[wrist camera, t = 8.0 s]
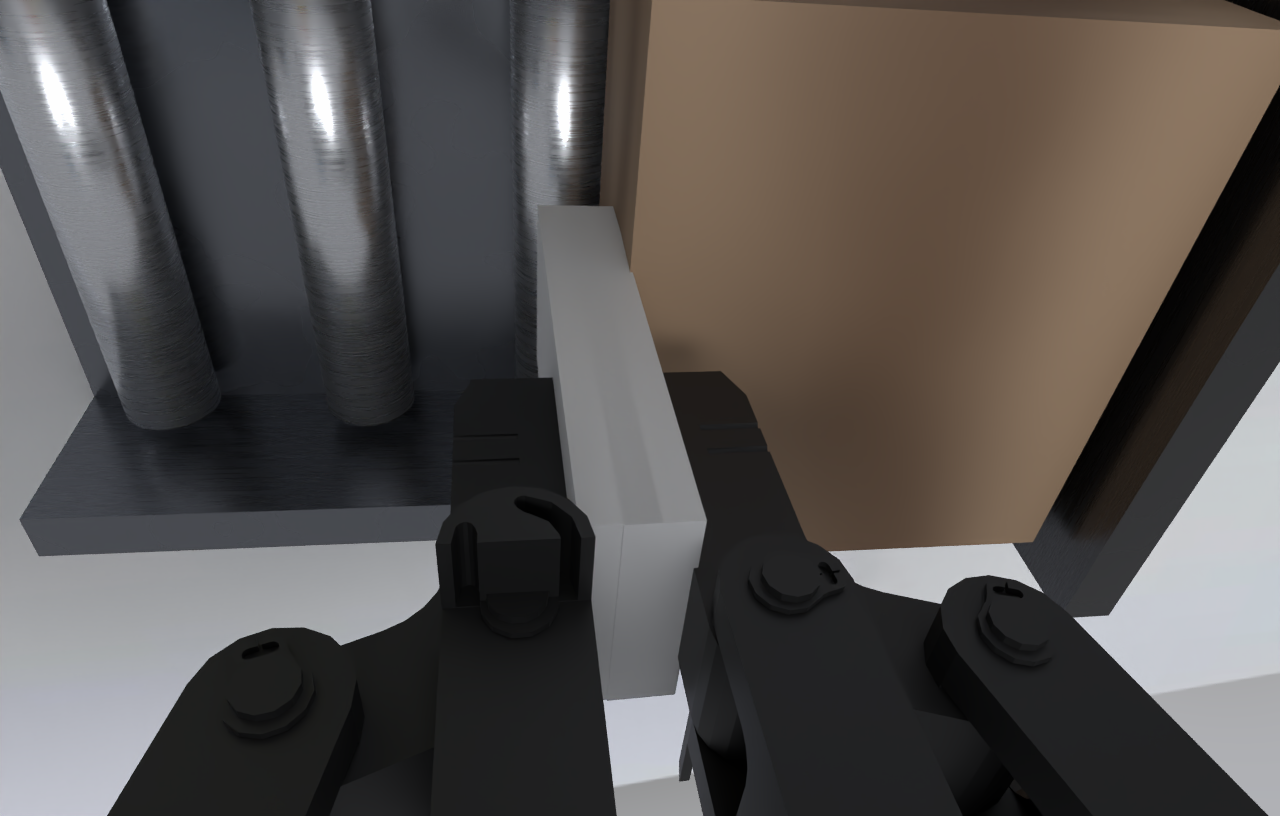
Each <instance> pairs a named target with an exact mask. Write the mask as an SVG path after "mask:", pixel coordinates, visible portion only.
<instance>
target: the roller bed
mask: <svg viewBox="0 0 1280 816" xmlns="http://www.w3.org/2000/svg"><path fill="white" fill-rule="evenodd" d="M1225 1H1228V2H1231V3H1233V4H1236V5H1239V6H1241V7H1244V8H1247V9H1249V10H1252V11H1255V12H1257V13H1260V14H1263V15H1265V16H1268V17H1271V18H1273V19H1276V20H1279V21H1280V0H1225ZM609 11H610V0H0V167H1V169H2V172H3V174H4V177H5V179H6V182H7V184H8V187H9V189H10V191H11V194H12V196H13V199H14V201H15V204H16V206H17V208H18V211H19V213H20V216H21V218H22V221H23V223H24V226H25V228H26V230H27V233H28V235H29V238H30V240H31V243H32V245H33V248H34V250H35V252H36V255H37V257H38V260H39V262H40V265H41V267H42V269H43V272H44V274H45V277H46V279H47V282H48V284H49V287H50V289H51V291H52V294H53V296H54V299H55V301H56V304H57V306H58V309H59V311H60V313H61V316H62V318H63V321H64V323H65V326H66V328H67V330H68V333H69V335H70V338H71V340H72V343H73V345H74V348H75V350H76V352H77V355H78V357H79V360H80V362H81V365H82V367H83V370H84V372H85V374H86V377H87V379H88V382H89V384H90V387H91V389H92V391H93V394H94V396H95V397H94V398H93V400H92V402H91V403H90V405H89V407H88V408H87V410H86V411H85V413H84V415H83V416H82V418H81V420H80V421H79V423H78V425H77V426H76V428H75V429H74V431H73V433H72V434H71V436H70V438H69V439H68V441H67V443H66V444H65V446H64V447H63V449H62V451H61V452H60V454H59V456H58V457H57V459H56V461H55V462H54V464H53V465H52V467H51V469H50V470H49V472H48V474H47V475H46V477H45V478H44V480H43V482H42V483H41V485H40V487H39V488H38V490H37V492H36V493H35V495H34V496H33V498H32V500H31V501H30V503H29V505H28V506H27V508H26V510H25V511H24V513H23V514H22V516H21V518H20V519H19V520H20V522H21V524H22V526H23V527H24V529H25V531H26V533H27V535H28V537H29V538H30V540H31V542H32V544H33V546H34V548H35V550H36V551H37V553H38V555H39V556H55V555H80V554H105V553H130V552H155V551H180V550H205V549H230V548H255V547H280V546H305V545H330V544H354V543H379V542H404V541H429V540H437V538H438V535H439V532H440V529H441V526H442V523H443V521H444V520H445V519H446V518H447V517H448V516H449V515H450V511H451V482H452V452H453V423H454V405H455V404H456V402H457V401H458V399H459V398H460V396H461V395H462V393H463V392H464V390H465V389H466V388H467V386H468V385H469V383H470V382H471V380H472V379H507V378H539V376H538V366H537V205H562V206H599V203H600V183H601V164H602V145H603V126H604V107H605V88H606V69H607V50H608V31H609ZM1279 362H1280V85H1279V87H1278V89H1277V91H1276V93H1275V95H1274V96H1273V98H1272V100H1271V102H1270V104H1269V106H1268V108H1267V109H1266V111H1265V113H1264V115H1263V117H1262V119H1261V121H1260V122H1259V124H1258V126H1257V128H1256V130H1255V132H1254V133H1253V135H1252V137H1251V139H1250V141H1249V143H1248V145H1247V146H1246V148H1245V150H1244V152H1243V154H1242V156H1241V158H1240V159H1239V161H1238V163H1237V165H1236V167H1235V169H1234V171H1233V172H1232V174H1231V176H1230V178H1229V180H1228V182H1227V183H1226V185H1225V187H1224V189H1223V191H1222V193H1221V195H1220V196H1219V198H1218V200H1217V202H1216V204H1215V206H1214V208H1213V209H1212V211H1211V213H1210V215H1209V217H1208V219H1207V221H1206V222H1205V224H1204V226H1203V228H1202V230H1201V232H1200V233H1199V235H1198V237H1197V239H1196V241H1195V243H1194V245H1193V246H1192V248H1191V250H1190V252H1189V254H1188V256H1187V258H1186V259H1185V261H1184V263H1183V265H1182V267H1181V269H1180V271H1179V272H1178V274H1177V276H1176V278H1175V280H1174V282H1173V283H1172V285H1171V287H1170V289H1169V291H1168V293H1167V295H1166V296H1165V298H1164V300H1163V302H1162V304H1161V306H1160V308H1159V309H1158V311H1157V313H1156V315H1155V317H1154V319H1153V321H1152V322H1151V324H1150V326H1149V328H1148V330H1147V332H1146V333H1145V335H1144V337H1143V339H1142V341H1141V343H1140V345H1139V346H1138V348H1137V350H1136V352H1135V354H1134V356H1133V358H1132V359H1131V361H1130V363H1129V365H1128V367H1127V369H1126V371H1125V372H1124V374H1123V376H1122V378H1121V380H1120V382H1119V383H1118V385H1117V387H1116V389H1115V391H1114V393H1113V395H1112V396H1111V398H1110V400H1109V402H1108V404H1107V406H1106V408H1105V409H1104V411H1103V413H1102V415H1101V417H1100V419H1099V421H1098V422H1097V424H1096V426H1095V428H1094V430H1093V432H1092V433H1091V435H1090V437H1089V439H1088V441H1087V443H1086V445H1085V446H1084V448H1083V450H1082V452H1081V454H1080V456H1079V458H1078V459H1077V461H1076V463H1075V465H1074V467H1073V469H1072V471H1071V472H1070V474H1069V476H1068V478H1067V480H1066V482H1065V483H1064V485H1063V487H1062V489H1061V491H1060V493H1059V495H1058V496H1057V498H1056V500H1055V502H1054V504H1053V506H1052V508H1051V509H1050V511H1049V513H1048V515H1047V517H1046V519H1045V521H1044V522H1043V524H1042V526H1041V528H1040V530H1039V532H1038V533H1037V535H1036V537H1035V539H1034V541H1033V542H1025V543H1013V545H1014V546H1015V548H1016V549H1017V551H1018V553H1019V554H1020V556H1021V557H1022V559H1023V561H1024V562H1025V564H1026V565H1027V567H1028V568H1029V570H1030V572H1031V573H1032V575H1033V576H1034V578H1035V580H1036V581H1037V583H1038V584H1039V586H1040V588H1041V589H1042V591H1043V592H1044V594H1045V595H1046V596H1048V597H1049V598H1050V599H1051V600H1053V601H1054V602H1055V603H1057V604H1058V605H1059V606H1060V607H1062V608H1063V609H1064V610H1065V611H1067V612H1068V613H1069V614H1070V615H1071V616H1072V617H1088V616H1105V615H1109V614H1110V612H1111V611H1112V609H1113V608H1114V606H1115V605H1116V603H1117V602H1118V601H1119V599H1120V598H1121V596H1122V595H1123V593H1124V592H1125V590H1126V589H1127V587H1128V586H1129V584H1130V583H1131V581H1132V580H1133V578H1134V577H1135V575H1136V574H1137V572H1138V571H1139V569H1140V568H1141V566H1142V565H1143V563H1144V562H1145V561H1146V559H1147V558H1148V556H1149V555H1150V553H1151V552H1152V550H1153V549H1154V547H1155V546H1156V544H1157V543H1158V541H1159V540H1160V538H1161V537H1162V535H1163V534H1164V532H1165V531H1166V529H1167V528H1168V526H1169V525H1170V523H1171V522H1172V521H1173V519H1174V518H1175V516H1176V515H1177V513H1178V512H1179V510H1180V509H1181V507H1182V506H1183V504H1184V503H1185V501H1186V500H1187V498H1188V497H1189V495H1190V494H1191V492H1192V491H1193V489H1194V488H1195V486H1196V485H1197V484H1198V482H1199V481H1200V479H1201V478H1202V476H1203V475H1204V473H1205V472H1206V470H1207V469H1208V467H1209V466H1210V464H1211V463H1212V461H1213V460H1214V458H1215V457H1216V455H1217V454H1218V452H1219V451H1220V449H1221V448H1222V446H1223V445H1224V444H1225V442H1226V441H1227V439H1228V438H1229V436H1230V435H1231V433H1232V432H1233V430H1234V429H1235V427H1236V426H1237V424H1238V423H1239V421H1240V420H1241V418H1242V417H1243V415H1244V414H1245V412H1246V411H1247V409H1248V408H1249V406H1250V405H1251V404H1252V402H1253V401H1254V399H1255V398H1256V396H1257V395H1258V393H1259V392H1260V390H1261V389H1262V387H1263V386H1264V384H1265V383H1266V381H1267V380H1268V378H1269V377H1270V375H1271V374H1272V372H1273V371H1274V369H1275V368H1276V366H1277V365H1278V364H1279Z"/></svg>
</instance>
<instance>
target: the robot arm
mask: <svg viewBox="0 0 1280 816" xmlns="http://www.w3.org/2000/svg"><path fill="white" fill-rule="evenodd" d="M537 366H538V376H539V378H507V379H472V380H471V382H470V383H469V385H468V386H467V388H466V389H465V390H464V392H463V393H462V395H461V396H460V398H459V399H458V401H457V402H456V404H455V405H454V423H453V452H452V482H451V511H450V515H449V516H448V517H447V518H446V519H445V520H444V521H443V523H442V526H441V529H440V532H439V535H438V538H437V541H436V544H435V545H436V555H437V565H438V575H439V585H440V588H439V590H438V592H437V593H436V594H435V595H434V596H433V597H432V599H431V600H430V601H429V602H428V603H427V604H426V605H425V606H424V607H423V608H422V609H421V610H419V611H418V612H417V613H415V614H414V615H412V616H411V617H410V618H408V619H407V620H405V621H404V622H401V623H399V624H397V625H395V626H393V627H390V628H388V629H386V630H384V631H381V632H378V633H376V634H373V635H370V636H367V637H364V638H361V639H359V640H356V641H353V642H350V643H347V644H344V645H341V646H340V645H339V644H338V643H337V642H336V641H335V640H334V639H333V638H332V637H331V636H328V635H325V634H322V633H319V632H316V631H313V630H310V629H307V628H272V629H268V630H265V631H262V632H259V633H256V634H253V635H250V636H247V637H244V638H240V639H238V640H237V641H235V642H234V643H232V644H231V645H229V646H228V647H226V648H224V649H223V650H221V651H220V652H218V653H217V654H215V655H214V656H212V657H211V658H209V659H208V661H207V662H206V663H205V664H204V665H203V666H202V668H201V669H200V670H199V671H198V672H197V673H196V675H195V676H194V677H193V678H192V679H191V680H190V682H189V683H188V684H187V685H186V687H185V689H184V690H183V692H182V694H181V695H180V697H179V698H178V700H177V702H176V703H175V705H174V707H173V708H172V710H171V712H170V713H169V715H168V717H167V718H166V720H165V721H164V723H163V725H162V726H161V728H160V730H159V731H158V733H157V735H156V736H155V738H154V740H153V741H152V743H151V745H150V746H149V748H148V749H147V751H146V753H145V754H144V756H143V758H142V759H141V761H140V763H139V764H138V766H137V768H136V769H135V771H134V772H133V774H132V776H131V777H130V779H129V781H128V782H127V784H126V786H125V787H124V789H123V791H122V792H121V794H120V795H119V797H118V799H117V800H116V802H115V804H114V805H113V807H112V809H111V810H110V812H109V814H108V815H107V816H617V815H616V807H615V798H614V789H613V781H612V772H611V764H610V755H609V747H608V738H607V729H606V721H605V712H604V704H603V700H607V701H608V700H619V699H630V698H640V697H651V696H662V695H673V694H675V691H676V686H677V680H678V675H679V669H680V670H681V675H682V679H683V684H684V688H685V693H686V697H687V702H688V706H689V716H688V721H687V726H686V731H685V735H684V740H683V745H682V750H681V755H680V759H679V781H687V780H689V779H690V775H691V770H692V767H693V771H694V776H695V780H696V785H697V789H698V794H699V798H700V803H701V807H702V812H703V816H1268V815H1267V814H1266V813H1265V812H1264V811H1263V810H1262V809H1261V808H1260V807H1259V806H1258V805H1257V804H1256V803H1255V802H1254V801H1253V800H1252V799H1251V798H1250V797H1249V796H1248V795H1247V794H1246V793H1245V792H1244V791H1243V790H1242V789H1241V788H1240V787H1239V785H1237V783H1235V781H1233V779H1232V778H1230V776H1229V775H1228V774H1227V773H1226V772H1225V771H1224V770H1222V768H1221V767H1220V766H1219V765H1218V764H1217V763H1216V762H1215V761H1214V760H1213V759H1212V758H1211V757H1210V756H1209V755H1208V754H1207V753H1206V752H1205V751H1204V750H1203V749H1202V748H1201V747H1200V746H1199V745H1198V744H1197V743H1196V742H1195V741H1194V740H1193V739H1192V738H1191V737H1190V736H1189V735H1188V734H1187V733H1186V732H1185V731H1184V730H1183V729H1182V728H1181V727H1180V726H1179V725H1178V724H1177V723H1176V722H1175V721H1174V720H1173V719H1172V718H1171V717H1170V716H1169V715H1168V714H1167V713H1166V712H1165V711H1164V710H1163V709H1162V708H1161V707H1160V705H1159V704H1157V702H1156V701H1155V700H1154V699H1153V698H1152V697H1151V696H1150V695H1149V694H1148V693H1147V692H1146V691H1145V690H1144V689H1143V688H1142V687H1141V686H1140V685H1139V684H1138V683H1137V682H1136V681H1135V680H1134V679H1133V678H1132V677H1131V676H1130V675H1129V674H1128V673H1127V672H1126V671H1125V670H1124V669H1123V668H1122V667H1121V666H1120V665H1119V664H1118V663H1117V662H1116V661H1115V660H1114V659H1113V658H1112V657H1111V656H1110V655H1109V654H1108V653H1107V652H1106V651H1105V650H1104V649H1103V648H1102V647H1101V646H1100V645H1099V644H1098V643H1097V642H1096V641H1095V640H1094V639H1093V638H1092V637H1091V636H1090V635H1089V634H1088V633H1087V632H1086V631H1085V630H1084V629H1083V628H1082V627H1081V625H1080V624H1079V623H1078V622H1077V621H1076V620H1075V619H1074V618H1073V617H1072V616H1071V615H1070V614H1069V613H1068V612H1067V611H1065V610H1064V609H1063V608H1062V607H1060V606H1059V605H1058V604H1057V603H1055V602H1054V601H1053V600H1051V599H1050V598H1049V597H1048V596H1046V595H1045V594H1044V593H1042V592H1040V591H1038V590H1036V589H1034V588H1031V587H1029V586H1027V585H1025V584H1023V583H1021V582H1018V581H1016V580H1011V579H1006V578H1001V577H995V576H990V575H987V576H979V577H971V578H965V579H963V580H962V581H960V582H959V583H957V584H955V585H954V586H952V587H951V588H949V589H948V591H947V593H946V595H945V597H944V599H943V602H942V604H938V603H933V602H928V601H923V600H918V599H913V598H908V597H903V596H899V595H894V594H889V593H884V592H880V591H877V590H873V589H870V588H867V587H863V586H861V585H859V584H857V583H855V582H854V580H853V578H852V577H851V575H850V574H849V573H848V571H847V570H846V568H845V567H844V566H843V564H842V563H841V562H840V560H839V559H837V558H836V557H835V556H833V555H832V554H830V553H829V552H828V551H826V550H825V549H824V548H822V547H821V546H819V545H818V544H815V543H812V542H810V541H808V540H807V539H806V537H805V535H804V532H803V530H802V528H801V525H800V523H799V520H798V518H797V516H796V513H795V511H794V508H793V506H792V504H791V501H790V499H789V496H788V494H787V491H786V489H785V487H784V484H783V482H782V479H781V477H780V475H779V472H778V470H777V467H776V465H775V463H774V460H773V458H772V455H771V453H770V452H768V450H767V443H766V441H765V439H764V436H763V434H762V431H761V429H760V428H758V422H757V419H756V417H755V414H754V412H753V410H752V407H751V405H750V402H749V400H748V398H747V395H746V394H745V393H744V392H743V391H742V390H741V389H740V388H738V387H737V386H736V385H735V384H734V383H733V382H732V381H731V380H730V379H729V378H728V377H727V376H726V375H725V374H723V373H722V372H721V371H704V372H665V373H663V372H662V369H661V365H660V362H659V358H658V355H657V352H656V348H655V345H654V342H653V338H652V335H651V332H650V328H649V325H648V322H647V318H646V315H645V312H644V308H643V305H642V302H641V298H640V295H639V291H638V288H637V285H636V281H635V278H634V275H633V272H630V269H629V265H628V261H627V257H626V253H625V249H624V244H623V240H622V236H621V232H620V228H619V224H618V221H617V218H616V214H615V211H614V208H613V206H562V205H537Z"/></svg>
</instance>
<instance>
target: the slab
mask: <svg viewBox="0 0 1280 816" xmlns="http://www.w3.org/2000/svg"><path fill="white" fill-rule="evenodd" d="M1279 85H1280V21H1279V20H1276V19H1273V18H1271V17H1268V16H1265V15H1263V14H1260V13H1257V12H1255V11H1252V10H1249V9H1247V8H1244V7H1241V6H1239V5H1236V4H1233V3H1231V2H1228V1H1225V0H610V11H609V31H608V50H607V69H606V88H605V107H604V126H603V145H602V164H601V183H600V203H599V206H613V208H614V211H615V214H616V218H617V221H618V224H619V228H620V232H621V236H622V240H623V244H624V249H625V253H626V257H627V261H628V265H629V269H630V272H633V275H634V278H635V281H636V285H637V288H638V291H639V295H640V298H641V302H642V305H643V308H644V312H645V315H646V318H647V322H648V325H649V328H650V332H651V335H652V338H653V342H654V345H655V348H656V352H657V355H658V358H659V362H660V365H661V369H662V372H663V373H665V372H704V371H721V372H722V373H723V374H725V375H726V376H727V377H728V378H729V379H730V380H731V381H732V382H733V383H734V384H735V385H736V386H737V387H738V388H740V389H741V390H742V391H743V392H744V393H745V394H746V395H747V398H748V400H749V402H750V405H751V407H752V410H753V412H754V414H755V417H756V419H757V422H758V428H760V429H761V431H762V434H763V436H764V439H765V441H766V443H767V450H768V452H770V453H771V455H772V458H773V460H774V463H775V465H776V467H777V470H778V472H779V475H780V477H781V479H782V482H783V484H784V487H785V489H786V491H787V494H788V496H789V499H790V501H791V504H792V506H793V508H794V511H795V513H796V516H797V518H798V520H799V523H800V525H801V528H802V530H803V532H804V535H805V537H806V539H807V540H808V541H810V542H812V543H815V544H818V545H819V546H821V547H822V548H824V549H825V550H826V551H847V550H870V549H892V548H914V547H936V546H958V545H980V544H1003V543H1025V542H1033V541H1034V539H1035V537H1036V535H1037V533H1038V532H1039V530H1040V528H1041V526H1042V524H1043V522H1044V521H1045V519H1046V517H1047V515H1048V513H1049V511H1050V509H1051V508H1052V506H1053V504H1054V502H1055V500H1056V498H1057V496H1058V495H1059V493H1060V491H1061V489H1062V487H1063V485H1064V483H1065V482H1066V480H1067V478H1068V476H1069V474H1070V472H1071V471H1072V469H1073V467H1074V465H1075V463H1076V461H1077V459H1078V458H1079V456H1080V454H1081V452H1082V450H1083V448H1084V446H1085V445H1086V443H1087V441H1088V439H1089V437H1090V435H1091V433H1092V432H1093V430H1094V428H1095V426H1096V424H1097V422H1098V421H1099V419H1100V417H1101V415H1102V413H1103V411H1104V409H1105V408H1106V406H1107V404H1108V402H1109V400H1110V398H1111V396H1112V395H1113V393H1114V391H1115V389H1116V387H1117V385H1118V383H1119V382H1120V380H1121V378H1122V376H1123V374H1124V372H1125V371H1126V369H1127V367H1128V365H1129V363H1130V361H1131V359H1132V358H1133V356H1134V354H1135V352H1136V350H1137V348H1138V346H1139V345H1140V343H1141V341H1142V339H1143V337H1144V335H1145V333H1146V332H1147V330H1148V328H1149V326H1150V324H1151V322H1152V321H1153V319H1154V317H1155V315H1156V313H1157V311H1158V309H1159V308H1160V306H1161V304H1162V302H1163V300H1164V298H1165V296H1166V295H1167V293H1168V291H1169V289H1170V287H1171V285H1172V283H1173V282H1174V280H1175V278H1176V276H1177V274H1178V272H1179V271H1180V269H1181V267H1182V265H1183V263H1184V261H1185V259H1186V258H1187V256H1188V254H1189V252H1190V250H1191V248H1192V246H1193V245H1194V243H1195V241H1196V239H1197V237H1198V235H1199V233H1200V232H1201V230H1202V228H1203V226H1204V224H1205V222H1206V221H1207V219H1208V217H1209V215H1210V213H1211V211H1212V209H1213V208H1214V206H1215V204H1216V202H1217V200H1218V198H1219V196H1220V195H1221V193H1222V191H1223V189H1224V187H1225V185H1226V183H1227V182H1228V180H1229V178H1230V176H1231V174H1232V172H1233V171H1234V169H1235V167H1236V165H1237V163H1238V161H1239V159H1240V158H1241V156H1242V154H1243V152H1244V150H1245V148H1246V146H1247V145H1248V143H1249V141H1250V139H1251V137H1252V135H1253V133H1254V132H1255V130H1256V128H1257V126H1258V124H1259V122H1260V121H1261V119H1262V117H1263V115H1264V113H1265V111H1266V109H1267V108H1268V106H1269V104H1270V102H1271V100H1272V98H1273V96H1274V95H1275V93H1276V91H1277V89H1278V87H1279Z"/></svg>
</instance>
